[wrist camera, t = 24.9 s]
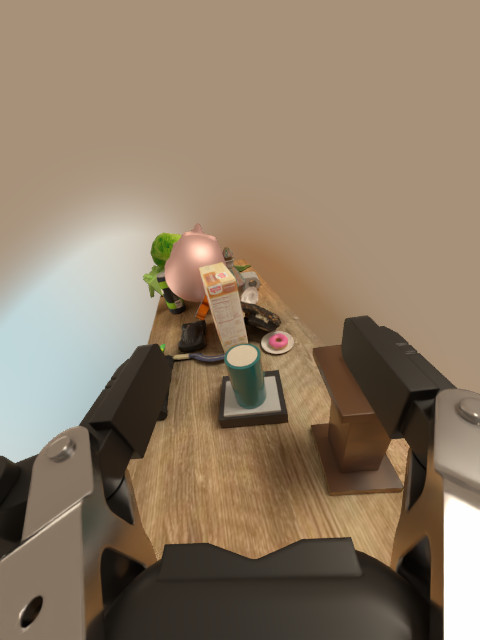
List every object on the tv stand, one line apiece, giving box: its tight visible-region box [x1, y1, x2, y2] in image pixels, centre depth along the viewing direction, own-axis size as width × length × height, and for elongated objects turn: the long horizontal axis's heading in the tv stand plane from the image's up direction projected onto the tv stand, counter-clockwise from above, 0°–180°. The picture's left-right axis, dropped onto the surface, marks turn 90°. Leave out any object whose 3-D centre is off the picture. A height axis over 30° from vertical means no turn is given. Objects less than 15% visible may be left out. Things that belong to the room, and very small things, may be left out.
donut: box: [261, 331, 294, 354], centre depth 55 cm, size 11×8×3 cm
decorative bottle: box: [222, 247, 245, 301], centre depth 76 cm, size 10×10×20 cm
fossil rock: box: [240, 301, 281, 331], centre depth 59 cm, size 14×14×6 cm
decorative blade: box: [172, 353, 226, 361], centre depth 54 cm, size 21×1×5 cm
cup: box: [224, 344, 267, 409], centre depth 36 cm, size 6×6×10 cm
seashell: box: [241, 286, 258, 304], centre depth 74 cm, size 8×5×8 cm
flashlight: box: [157, 355, 174, 420], centre depth 47 cm, size 3×16×3 cm, turn 12°
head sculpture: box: [164, 224, 226, 302], centre depth 73 cm, size 20×26×30 cm
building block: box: [195, 293, 209, 320], centre depth 62 cm, size 6×6×3 cm
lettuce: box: [151, 233, 182, 269], centre depth 93 cm, size 17×20×15 cm
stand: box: [311, 345, 404, 495], centre depth 26 cm, size 9×9×18 cm
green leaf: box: [235, 265, 250, 272], centre depth 110 cm, size 11×15×1 cm
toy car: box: [178, 320, 206, 352], centre depth 62 cm, size 7×15×4 cm, turn 8°
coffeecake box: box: [199, 262, 248, 353], centre depth 56 cm, size 15×7×20 cm, turn 16°
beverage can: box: [156, 271, 186, 314], centre depth 77 cm, size 6×6×15 cm
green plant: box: [143, 266, 165, 297], centre depth 97 cm, size 15×14×11 cm
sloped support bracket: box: [240, 272, 260, 292], centre depth 85 cm, size 6×18×8 cm
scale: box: [219, 370, 288, 428], centre depth 41 cm, size 12×10×3 cm
